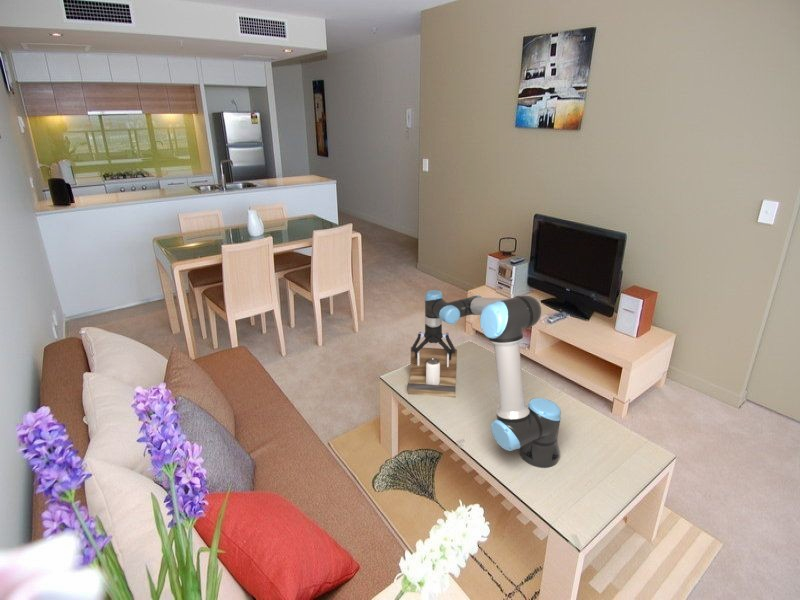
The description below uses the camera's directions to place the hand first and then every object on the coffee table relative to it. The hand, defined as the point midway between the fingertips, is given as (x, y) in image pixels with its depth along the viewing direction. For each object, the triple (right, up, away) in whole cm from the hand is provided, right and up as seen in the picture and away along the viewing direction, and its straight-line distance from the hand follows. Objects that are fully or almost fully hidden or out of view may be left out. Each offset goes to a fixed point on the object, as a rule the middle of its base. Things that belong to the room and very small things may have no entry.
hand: (433, 364), depth 215 cm
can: (0, -9, +4) cm, 10 cm away
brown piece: (0, -12, +6) cm, 13 cm away
